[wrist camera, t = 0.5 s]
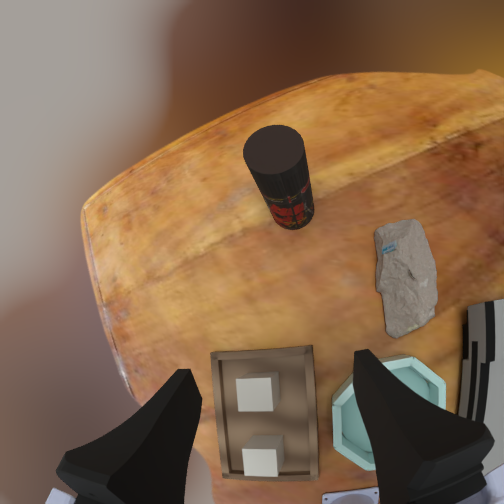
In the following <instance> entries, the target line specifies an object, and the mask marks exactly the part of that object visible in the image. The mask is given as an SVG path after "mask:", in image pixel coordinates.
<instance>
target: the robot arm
mask: <svg viewBox="0 0 504 504" xmlns="http://www.w3.org/2000/svg"><path fill="white" fill-rule="evenodd" d="M353 389H354V393H355V398H356V402H357V406H358V408H359V411H360V414H361V417H362V420H363V423H364V426H365V429H366V432H367V434H368V437H369V440H370V444H371V447H372V452H373V457H374V462H375V468H376V474H377V480H378V487H372V488H366V489H359V490H352V491H344V492H334V493H325V494H323V496H322V504H378V500H379V496H380V504H504V463H503V464H501V465H500V466H498V467H496V468H495V469H493V470H491V471H490V472H488V473H487V474H486V475H485V476H483V473H482V471H483V469H484V466H483V464H482V461H483V460H484V458H485V457H486V456H487V454H488V453H489V452H490V451H491V449H492V448H493V446H494V443H495V440H494V438H493V436H492V434H491V432H490V430H489V429H488V427H487V426H486V425H485V423H481V422H477V421H474V420H470V419H467V418H464V417H461V416H458V415H456V414H453V413H451V412H449V411H447V410H445V409H443V408H441V407H439V406H437V405H435V404H433V403H431V402H429V401H428V400H426V399H425V398H423V397H422V396H420V395H419V394H417V393H416V392H414V391H413V390H412V389H410V388H409V387H408V386H407V385H405V384H404V383H403V382H402V381H401V380H399V379H398V378H397V377H396V376H395V375H394V374H393V373H392V372H391V371H390V370H389V369H387V368H386V367H385V366H384V365H383V364H382V363H381V362H380V361H379V360H378V358H377V357H376V356H375V355H374V354H373V353H372V352H371V351H370V350H369V349H365V350H360V351H354V370H353ZM201 406H202V397H201V395H200V392H199V390H198V387H197V385H196V382H195V380H194V377H193V374H192V372H191V369H178V370H177V371H176V372H175V373H174V374H173V375H172V376H171V377H170V378H169V379H168V381H167V382H166V383H165V384H164V385H163V386H162V387H161V388H160V389H159V390H158V391H157V393H156V394H155V395H154V396H153V397H152V398H151V399H150V400H149V401H148V402H147V403H146V404H145V405H144V406H143V407H141V408H140V409H139V410H138V411H137V412H136V413H135V414H134V415H133V416H132V417H130V418H129V419H128V420H126V421H125V422H124V423H122V424H121V425H120V426H118V427H116V428H115V429H113V430H112V431H110V432H109V433H107V434H105V435H104V436H102V437H100V438H98V439H96V440H94V441H92V442H90V443H88V444H86V445H83V446H81V447H78V448H76V449H73V450H70V451H67V452H66V453H65V455H64V456H63V458H62V460H61V462H60V464H59V466H58V467H57V469H56V473H57V475H58V477H59V478H60V479H61V480H62V481H63V482H65V483H66V484H67V485H68V486H69V487H70V488H72V489H73V490H74V491H75V492H76V493H78V496H77V498H75V497H73V496H71V495H69V494H67V493H65V492H63V491H60V490H58V489H56V488H53V489H52V491H51V493H50V495H49V497H48V499H47V501H46V503H45V504H184V495H185V484H186V475H187V467H188V461H189V457H190V453H191V449H192V446H193V442H194V438H195V435H196V431H197V427H198V424H199V420H200V414H201ZM374 492H377V493H374ZM325 498H328V499H325Z"/></svg>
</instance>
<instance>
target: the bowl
mask: <svg viewBox="0 0 504 504" xmlns="http://www.w3.org/2000/svg"><path fill="white" fill-rule="evenodd" d="M378 360H379V361H380V362H381V363H382V364H383V365H384V366H385V367H386V368H387V369H389V370H390V371H391V372H392V373H393V374H394V375H395V376H396V377H397V378H398V379H399V380H401V381H402V382H403V383H404V384H405V385H407V386H408V387H409V388H410V389H412V390H413V391H414V392H416V393H417V394H419V395H420V396H422V397H423V398H425V399H426V400H428V401H429V402H431V403H433V404H435V405H437V406H439V407H441V408H443V409H446V383H444V382H445V381H444V380H443V379H441V378H440V377H439V376H438V375H436V374H435V373H434V372H433V371H431V370H430V369H429V368H428V367H426V366H425V365H424V364H423V363H421V362H420V361H419V360H418V359H416V358H415V357H412V356H409V355H405V354H402V355H397V356H391V357H386V358H381V359H378ZM425 380H426V381H427V382H426V381H425ZM332 414H333V447H334V449H335V450H337V451H338V452H339V453H341V454H342V455H344V456H345V457H347V458H348V459H350V460H351V461H353V462H354V463H356V464H357V465H359V466H360V467H362V468H363V469H365V470H366V471H367V470H368V471H371V470H376V468H375V462H374V457H373V452H372V447H371V444H370V440H369V437H368V434H367V432H366V429H365V426H364V423H363V420H362V417H361V414H360V411H359V408H358V406H357V402H356V398H355V393H354V389H353V373H352V374H351V375H350V376H349V377H348V379H347V380H346V381H345V382H344V383H343V384H342V385H341V387H340V388H339V389H338V390H337V391H336V392H335V393H334V394H333V397H332ZM342 432H343V434H344V435H343V434H342Z"/></svg>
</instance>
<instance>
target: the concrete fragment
mask: <svg viewBox="0 0 504 504" xmlns="http://www.w3.org/2000/svg"><path fill="white" fill-rule="evenodd" d="M374 241H375V245H376V251H377V257H378V262H377V266H376V288H377V292H381V294H382V299H383V306H384V313H385V321H386V325H387V326H386V332H387V334H388V335H390V336H391V337H393V338H398V337H400V336H403V335H405V334H408V333H409V332H411V331H412V330H415V329H418V328H419V327H421V326H424V325H425V324H426V323H427V322H428V321H429V320H430V319H432V318H433V317H434V316H435V314H434V306H435V305H436V304H437V300H438V291H437V289H436V278H437V275H436V271H437V270H436V266H435V260H434V259H433V256H432V254H431V250H430V248H429V244H428V240H427V239H426V238H425V232H424V230H423V228H422V226H421V224H420V223H419V222H418V221H417V220H415V219H410V220H401V221H399V222H396V223H393V224H392V223H388V224H386V225H384V226H382V227H380V228H378V229H377V230H375V236H374Z"/></svg>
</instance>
